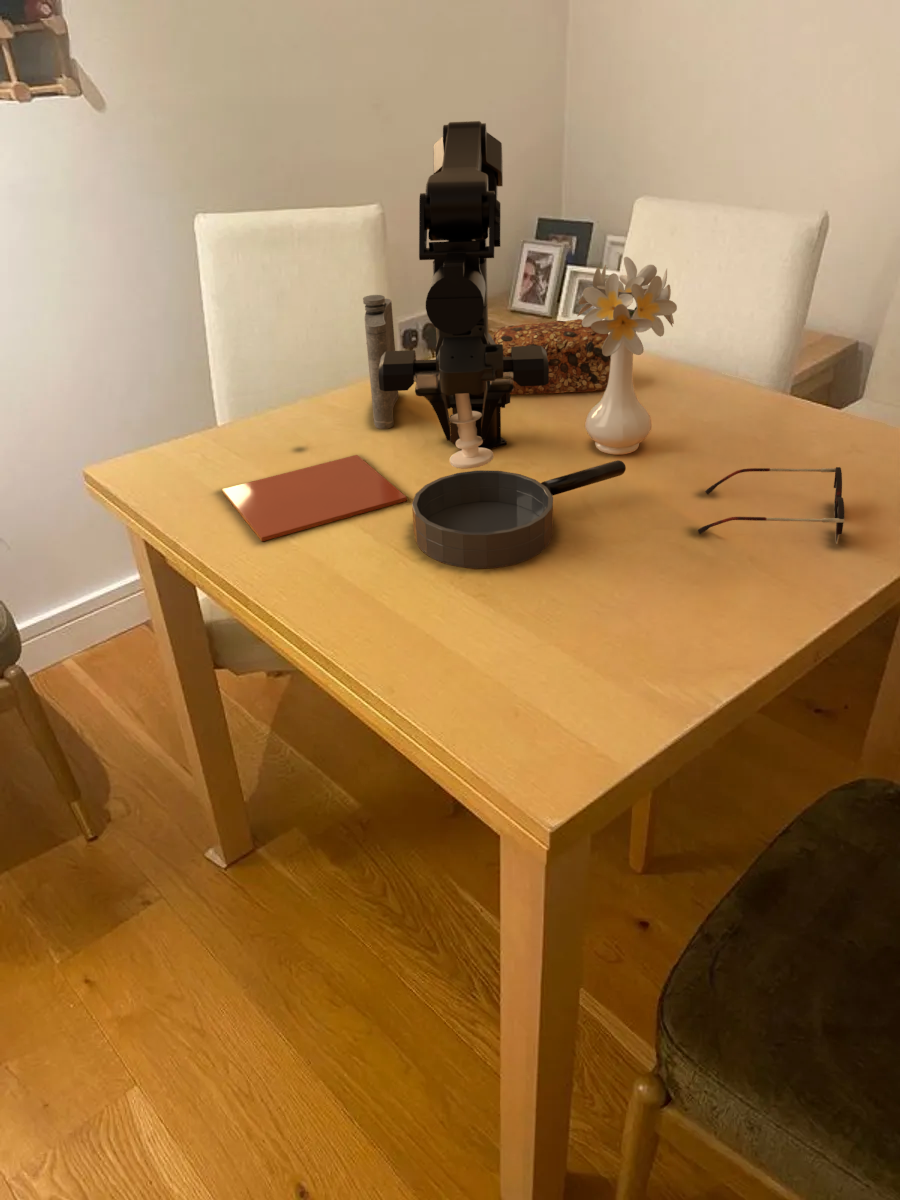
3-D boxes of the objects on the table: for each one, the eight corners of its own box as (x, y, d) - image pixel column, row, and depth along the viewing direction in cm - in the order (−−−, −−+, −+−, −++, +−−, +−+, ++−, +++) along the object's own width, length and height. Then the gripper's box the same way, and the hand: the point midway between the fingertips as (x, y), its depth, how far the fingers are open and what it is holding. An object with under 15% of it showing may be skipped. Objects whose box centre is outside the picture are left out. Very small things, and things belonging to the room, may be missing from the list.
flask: (369, 429, 148) (357, 311, 138) (377, 395, 160) (367, 284, 150) (393, 428, 148) (383, 310, 138) (399, 394, 160) (391, 283, 150)
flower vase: (580, 477, 131) (587, 290, 117) (568, 424, 146) (573, 253, 133) (678, 474, 130) (695, 285, 117) (655, 421, 146) (669, 249, 132)
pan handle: (619, 470, 126) (619, 456, 125) (628, 476, 125) (629, 461, 124) (534, 495, 121) (534, 481, 120) (543, 501, 120) (543, 486, 119)
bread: (603, 371, 165) (606, 312, 159) (610, 394, 156) (613, 332, 151) (493, 374, 166) (492, 316, 160) (494, 397, 157) (493, 336, 151)
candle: (494, 465, 112) (482, 378, 107) (449, 471, 113) (435, 384, 108) (493, 449, 117) (481, 364, 112) (450, 454, 117) (436, 371, 112)
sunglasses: (840, 554, 111) (845, 515, 109) (696, 546, 116) (697, 509, 113) (837, 500, 122) (841, 464, 120) (705, 495, 127) (707, 460, 124)
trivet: (357, 458, 139) (356, 454, 139) (407, 501, 127) (406, 496, 127) (222, 493, 131) (221, 489, 131) (261, 541, 119) (261, 537, 119)
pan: (506, 490, 128) (505, 459, 126) (579, 543, 116) (580, 509, 113) (392, 523, 122) (389, 491, 120) (456, 583, 109) (455, 548, 107)
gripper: (368, 331, 98) (381, 471, 107) (553, 324, 98) (551, 466, 106) (377, 300, 108) (388, 431, 116) (545, 293, 107) (544, 425, 116)
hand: (466, 439), depth 113 cm, fingers closed on candle, 4 cm apart
